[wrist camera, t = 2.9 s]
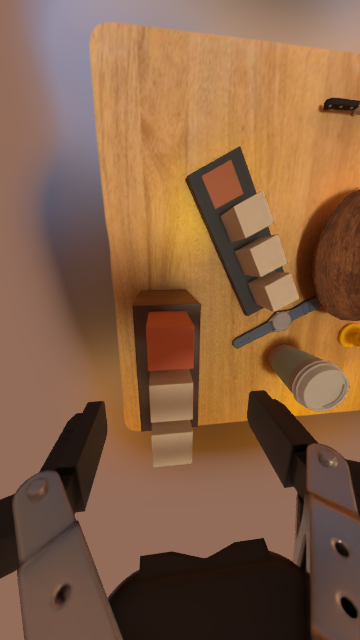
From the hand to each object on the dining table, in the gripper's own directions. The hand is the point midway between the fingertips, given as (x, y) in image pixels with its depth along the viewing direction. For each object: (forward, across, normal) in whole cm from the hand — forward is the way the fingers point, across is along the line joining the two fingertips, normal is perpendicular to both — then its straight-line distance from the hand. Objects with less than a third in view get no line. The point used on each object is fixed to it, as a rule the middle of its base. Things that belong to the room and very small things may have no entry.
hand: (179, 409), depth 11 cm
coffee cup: (+27, -24, +11) cm, 38 cm away
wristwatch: (+27, -22, +3) cm, 35 cm away
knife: (+27, -32, -30) cm, 52 cm away
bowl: (+27, -34, -8) cm, 45 cm away
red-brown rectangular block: (+14, 0, 0) cm, 14 cm away
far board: (+27, -14, -11) cm, 32 cm away
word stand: (+27, 0, +6) cm, 28 cm away
